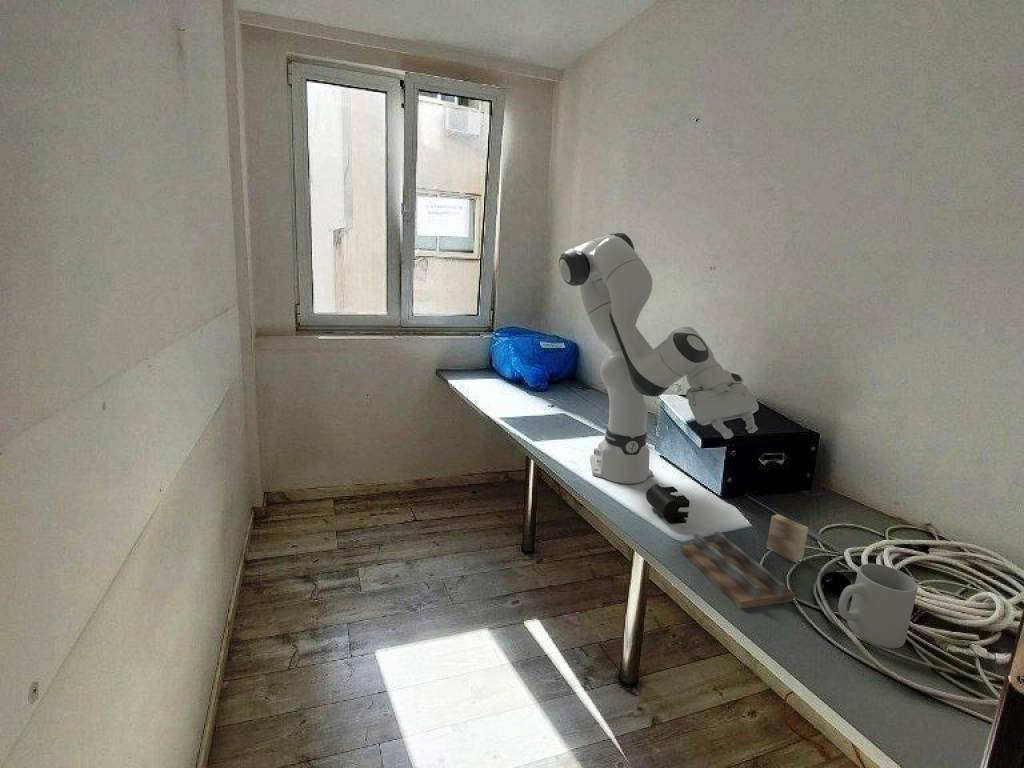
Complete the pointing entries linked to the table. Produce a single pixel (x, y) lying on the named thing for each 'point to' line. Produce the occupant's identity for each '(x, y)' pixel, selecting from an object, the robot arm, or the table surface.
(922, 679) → the table surface
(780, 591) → the track board
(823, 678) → the table surface
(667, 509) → the black notched cylinder
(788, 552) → the beige rectangular block
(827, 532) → the table surface
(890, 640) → the mug
